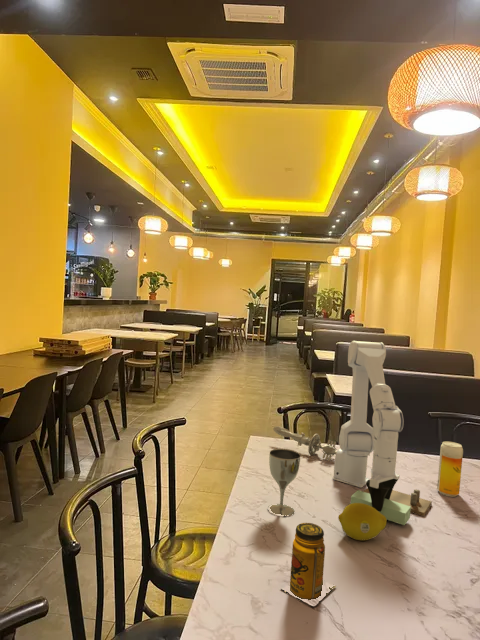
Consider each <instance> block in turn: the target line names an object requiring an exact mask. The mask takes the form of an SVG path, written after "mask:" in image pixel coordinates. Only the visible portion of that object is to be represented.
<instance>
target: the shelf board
mask: <svg viewBox="0 0 480 640" xmlns="http://www.w3.org/2000/svg"><path fill="white" fill-rule="evenodd" d="M352 503H363V504H367V505H369V506H371V507H372V502H371V496H370V494H369V493H366V492H364V491H363V490H360V489H358V490H356V491H355V492H354V493H352V494H351V496H350V504H352ZM410 511H411V506H407V505H404V504H401V503H398V502H395V501H391V500H388V499H384V504H383V508H382V510H381V512H380V513H381V514H382V515H384V516H385V517H386V519H387V520H388V521H390V522H394V523H396V524H399V525H402V526H405V525H406V524H407V523H408V521H409V520H410V518H411V512H410ZM378 512H379V511H378Z"/></svg>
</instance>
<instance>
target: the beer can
mask: <svg viewBox="0 0 480 640" xmlns="http://www.w3.org/2000/svg"><path fill="white" fill-rule="evenodd" d="M441 443H442V444H441V445H440V448H439V449H440V451H439V464H438V473H437V474H438V475H437V487H436V489H437V491H438V492H439V493H440V495H443V496H446V497H451V498H455V497H457V496H458V495H459V494H460V491H461V490H460V488H461V478H462V467H463V466H462V465H463V459H464V458H463V455H464V449H463V446H462V444H460V443H457V442H454V441H448V440H447V441H442V442H441Z"/></svg>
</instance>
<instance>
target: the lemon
mask: <svg viewBox="0 0 480 640" xmlns="http://www.w3.org/2000/svg"><path fill="white" fill-rule="evenodd" d="M337 519H338V521H339V523H340V525H341V528H342V530H343V532H344V534H345V535H347V536H348V537H349V538H352V539H354V540H356V541H368V540H371V539H374V538H376V537H377V536H378V535H379V534H380V533H381V532H382V531H383V530H384V529H386V526H387V519H386V517H385V516H384V515H382V514H381V513H380V512H378V511H377V510H376V509H375V508H373V507H371V506H369V505H367V504H363V503H352V504H351V503H349V504H347V505H346V506H345V507H344V508H343V510H342V512H341V513H340V514H338V517H337Z"/></svg>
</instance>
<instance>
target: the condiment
mask: <svg viewBox="0 0 480 640" xmlns="http://www.w3.org/2000/svg"><path fill="white" fill-rule="evenodd" d="M324 536H325V531H324V530H323V528H322V526H319V525H318V524H315V523H313V522H301V523H299V524H298V525H297V526H296V528H295V533H294V538H293V542H292V549H291V552H292V553H291V566H290V577H289V579H290V580H289V582H290V591H291V592H292V593H293V594H294V595H295V596H297V597H299V598H301V599H308V600H311V599H316V598H318V597H319V596H321V591H322V585H323V580H324V569H325V557H326V556H325V555H326V552H325V551H326V545H325V540H324ZM336 587H337V585H335V586H333V587H332V588H333V590H334V589H335V588H336ZM332 588H330V587H329V589H330V590H332ZM333 590H332V591H333ZM284 592H285V593H286V591H284ZM326 595H327V596H328V595H330V593H326Z"/></svg>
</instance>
